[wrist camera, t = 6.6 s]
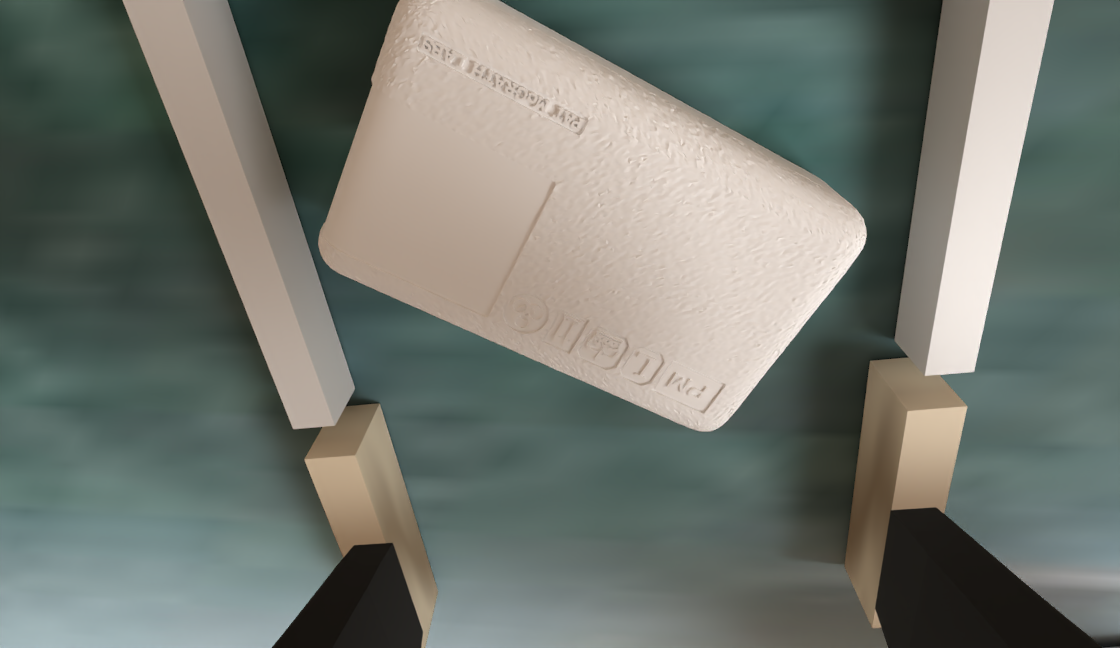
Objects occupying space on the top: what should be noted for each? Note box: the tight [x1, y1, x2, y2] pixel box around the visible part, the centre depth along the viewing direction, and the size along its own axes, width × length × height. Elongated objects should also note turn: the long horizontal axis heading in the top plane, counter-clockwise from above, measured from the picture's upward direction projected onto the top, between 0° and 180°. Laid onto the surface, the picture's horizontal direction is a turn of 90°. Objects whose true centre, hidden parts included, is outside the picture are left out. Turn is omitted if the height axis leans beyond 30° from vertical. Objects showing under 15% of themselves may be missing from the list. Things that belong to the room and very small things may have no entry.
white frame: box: [123, 0, 1054, 429], centre depth 12 cm, size 10×15×2 cm, turn 97°
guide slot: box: [304, 357, 967, 648], centre depth 17 cm, size 7×14×2 cm, turn 97°
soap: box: [318, 0, 867, 432], centre depth 13 cm, size 9×6×3 cm, turn 63°
